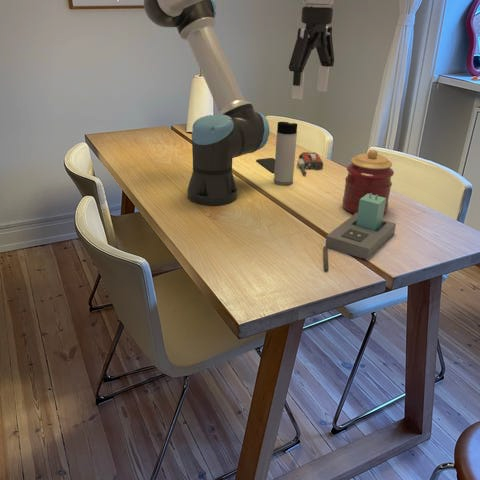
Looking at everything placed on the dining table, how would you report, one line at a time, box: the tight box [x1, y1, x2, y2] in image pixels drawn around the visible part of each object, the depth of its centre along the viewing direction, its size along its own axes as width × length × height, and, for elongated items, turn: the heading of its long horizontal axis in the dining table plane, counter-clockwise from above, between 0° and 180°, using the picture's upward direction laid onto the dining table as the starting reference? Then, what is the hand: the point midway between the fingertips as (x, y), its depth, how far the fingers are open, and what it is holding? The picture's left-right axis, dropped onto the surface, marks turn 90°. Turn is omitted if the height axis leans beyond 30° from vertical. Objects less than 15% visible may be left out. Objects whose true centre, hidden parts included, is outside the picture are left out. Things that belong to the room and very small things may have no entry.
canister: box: [342, 149, 395, 215], centre depth 140 cm, size 13×13×18 cm
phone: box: [255, 157, 275, 174], centre depth 176 cm, size 7×1×15 cm
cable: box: [322, 245, 329, 272], centre depth 115 cm, size 11×1×1 cm, turn 172°
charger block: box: [356, 193, 386, 232], centre depth 126 cm, size 5×5×11 cm
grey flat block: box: [324, 213, 397, 260], centre depth 124 cm, size 18×11×3 cm, turn 144°
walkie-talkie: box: [296, 151, 324, 176], centre depth 175 cm, size 9×4×20 cm
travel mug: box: [273, 121, 298, 186], centre depth 157 cm, size 6×7×20 cm
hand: (309, 95), depth 130 cm, fingers open, 13 cm apart
